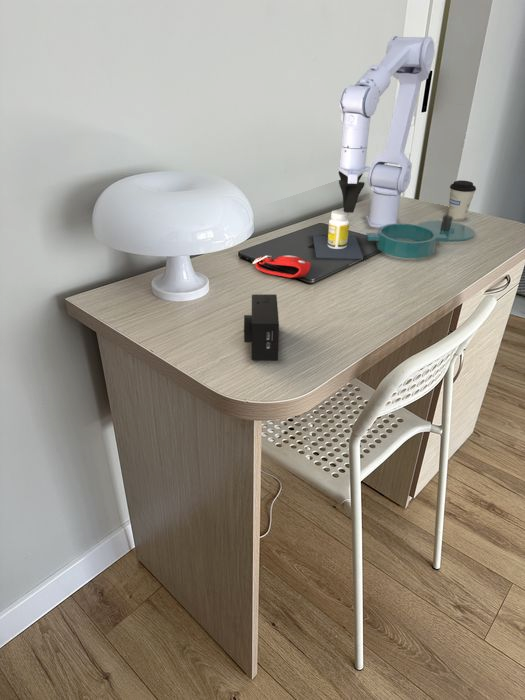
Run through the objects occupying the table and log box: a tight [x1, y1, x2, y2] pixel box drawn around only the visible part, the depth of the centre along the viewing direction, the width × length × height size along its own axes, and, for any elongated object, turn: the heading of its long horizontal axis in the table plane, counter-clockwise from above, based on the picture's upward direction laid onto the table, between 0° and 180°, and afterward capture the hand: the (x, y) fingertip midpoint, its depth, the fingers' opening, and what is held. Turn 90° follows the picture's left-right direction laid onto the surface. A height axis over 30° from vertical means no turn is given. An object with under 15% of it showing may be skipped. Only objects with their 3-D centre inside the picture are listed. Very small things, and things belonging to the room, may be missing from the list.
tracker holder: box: [252, 254, 312, 279], centre depth 111 cm, size 12×4×10 cm
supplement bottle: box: [327, 209, 350, 249], centre depth 122 cm, size 5×5×8 cm
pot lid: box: [417, 214, 475, 242], centre depth 133 cm, size 15×15×5 cm
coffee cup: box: [447, 179, 477, 220], centre depth 142 cm, size 7×7×10 cm
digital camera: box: [243, 293, 280, 361], centre depth 85 cm, size 10×5×7 cm, turn 1°
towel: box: [312, 235, 364, 260], centre depth 125 cm, size 14×11×1 cm
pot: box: [365, 222, 448, 259], centre depth 123 cm, size 14×19×4 cm
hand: (348, 207), depth 120 cm, fingers open, 7 cm apart
